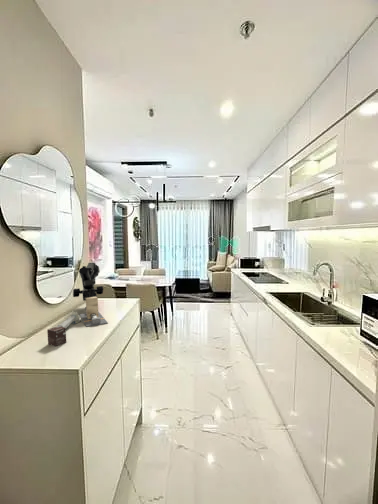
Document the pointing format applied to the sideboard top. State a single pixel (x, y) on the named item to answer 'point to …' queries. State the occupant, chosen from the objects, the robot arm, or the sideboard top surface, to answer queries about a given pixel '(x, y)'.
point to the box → (56, 336)
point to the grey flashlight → (70, 320)
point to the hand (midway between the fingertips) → (90, 302)
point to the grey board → (93, 320)
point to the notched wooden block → (91, 306)
